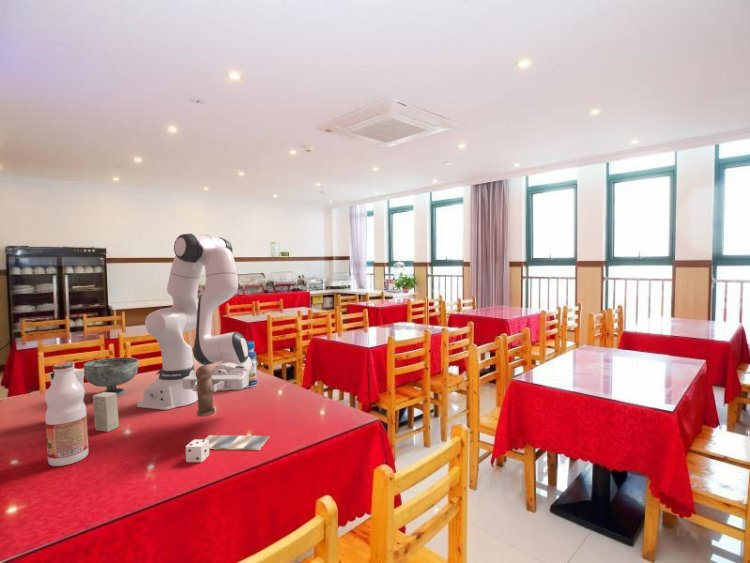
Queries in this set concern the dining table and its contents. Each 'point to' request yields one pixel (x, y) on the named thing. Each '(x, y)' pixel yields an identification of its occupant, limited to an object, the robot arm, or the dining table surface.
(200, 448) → the die
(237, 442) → the board
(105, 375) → the bowl
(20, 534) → the dining table surface
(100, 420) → the skincare box
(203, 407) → the pawn
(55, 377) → the fruit juice
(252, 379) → the beverage bottle
